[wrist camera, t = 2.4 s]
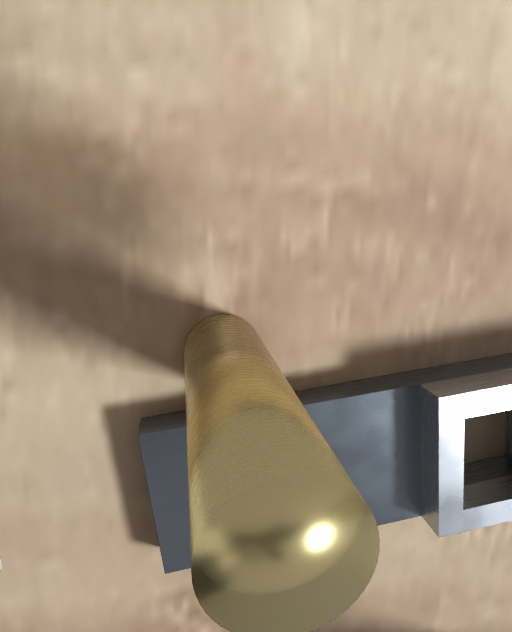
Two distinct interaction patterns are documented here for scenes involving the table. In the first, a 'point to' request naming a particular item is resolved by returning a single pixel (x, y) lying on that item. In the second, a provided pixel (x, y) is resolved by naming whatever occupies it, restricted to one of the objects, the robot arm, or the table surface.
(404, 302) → the table surface
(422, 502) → the chain end grey
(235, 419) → the pin
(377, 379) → the chain end dark
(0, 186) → the table surface
